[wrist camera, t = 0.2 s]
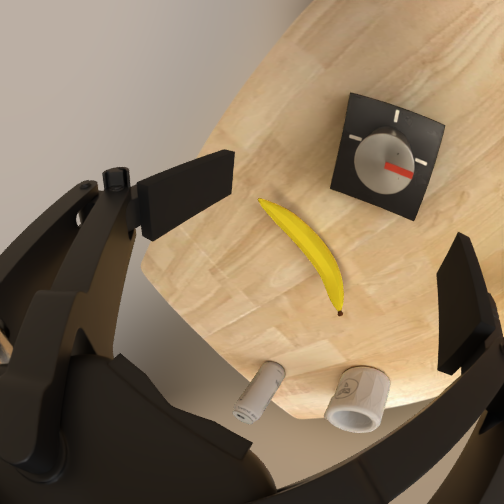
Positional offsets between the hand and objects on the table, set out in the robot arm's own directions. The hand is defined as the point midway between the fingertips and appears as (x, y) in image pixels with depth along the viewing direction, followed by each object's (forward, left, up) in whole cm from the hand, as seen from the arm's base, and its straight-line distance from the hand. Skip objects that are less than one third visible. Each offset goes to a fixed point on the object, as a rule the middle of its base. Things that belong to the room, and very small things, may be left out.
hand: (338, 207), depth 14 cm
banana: (+15, -4, -20) cm, 26 cm away
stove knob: (-1, +2, -18) cm, 18 cm away
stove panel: (0, +2, -20) cm, 20 cm away
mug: (+42, +14, -20) cm, 49 cm away
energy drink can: (+51, -4, -20) cm, 55 cm away
